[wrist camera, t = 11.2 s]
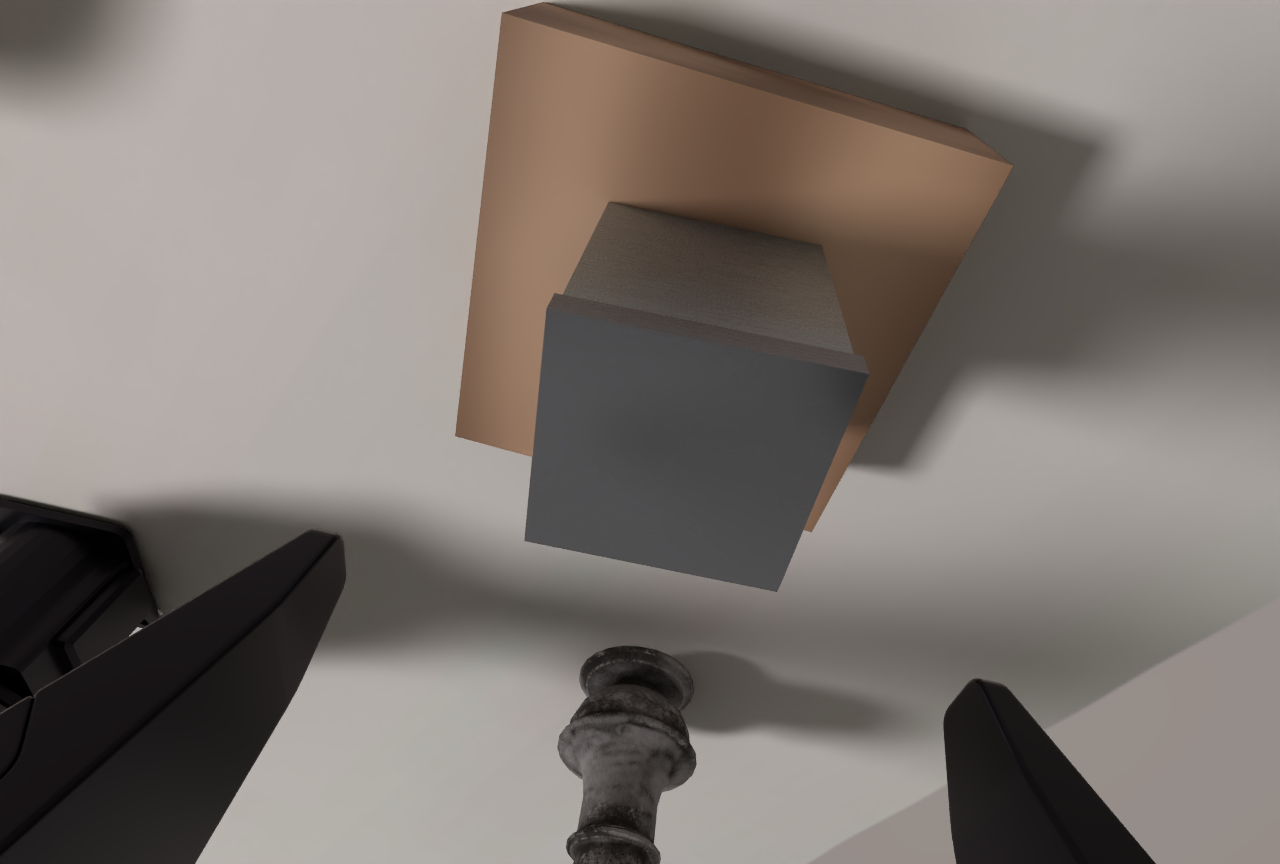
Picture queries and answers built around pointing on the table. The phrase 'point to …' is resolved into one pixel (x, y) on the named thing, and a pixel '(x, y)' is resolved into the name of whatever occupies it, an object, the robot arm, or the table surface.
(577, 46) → the walnut block
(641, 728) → the dark grey tall piece
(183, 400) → the table surface
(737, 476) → the slate tin
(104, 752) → the robot arm
